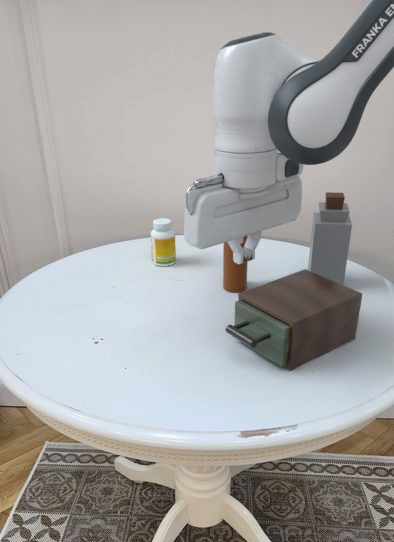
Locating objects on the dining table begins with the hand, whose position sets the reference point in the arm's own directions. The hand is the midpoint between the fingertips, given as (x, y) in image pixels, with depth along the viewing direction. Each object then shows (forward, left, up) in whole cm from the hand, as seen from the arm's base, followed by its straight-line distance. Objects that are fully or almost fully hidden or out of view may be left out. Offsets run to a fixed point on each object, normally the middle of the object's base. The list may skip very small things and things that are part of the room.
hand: (243, 261), depth 82 cm
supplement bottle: (+38, -9, -15) cm, 42 cm away
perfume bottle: (+8, -29, -15) cm, 34 cm away
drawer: (-4, -5, -14) cm, 15 cm away
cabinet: (-4, -8, -15) cm, 18 cm away
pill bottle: (+18, -13, -15) cm, 27 cm away
